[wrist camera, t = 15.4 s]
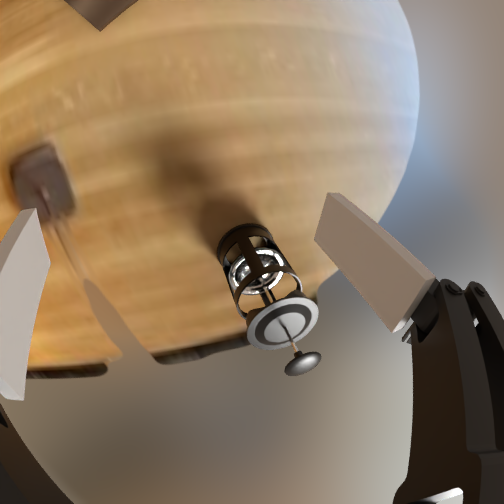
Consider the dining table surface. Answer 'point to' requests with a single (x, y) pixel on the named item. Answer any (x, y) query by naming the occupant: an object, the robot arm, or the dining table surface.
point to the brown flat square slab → (100, 10)
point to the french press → (269, 296)
